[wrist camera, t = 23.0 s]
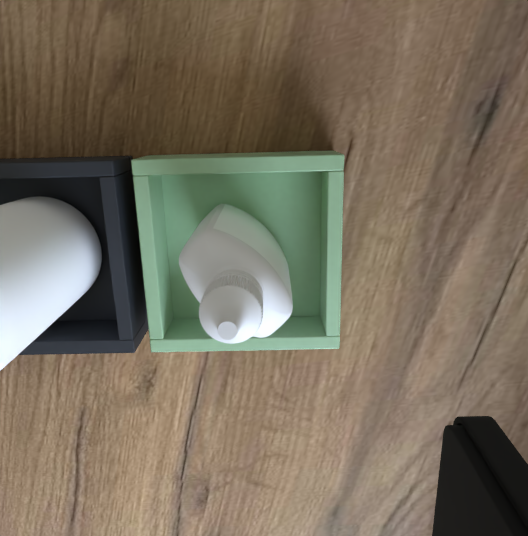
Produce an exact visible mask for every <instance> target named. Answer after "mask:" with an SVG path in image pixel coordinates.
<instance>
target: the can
mask: <svg viewBox="0 0 528 536" xmlns="http://www.w3.org/2000/svg"><path fill="white" fill-rule="evenodd" d="M101 263H102V250H101V245H100V241H99V238H98V236H97V233H96V231H95V229H94V228H93V226H92V225H91V223H90V222H89V221H88V219H87V218H86V217H85V216H84V215H83V214H82V213H81V212H80V211H78V210H77V209H76V208H74V207H73V206H71V205H69V204H68V203H65V202H63V201H61V200H58V199H55V198H50V197H41V196H38V197H28V198H24V199H20V200H16V201H13V202H9V203H6V204H2V205H0V370H1V369H3V368H4V367H5V366H6V365H7V364H8V363H9V362H11V361H12V360H13V359H14V358H15V357H16V356H17V355H18V354H19V353H21V352H22V351H23V350H24V349H25V348H26V347H27V346H28V345H29V344H30V343H32V342H33V341H34V340H35V339H36V338H37V337H38V336H39V335H40V334H41V333H43V332H44V331H45V330H46V329H47V328H48V327H49V326H50V325H51V324H52V323H53V322H55V321H56V320H57V319H58V318H59V317H60V316H61V315H62V314H63V313H64V312H65V311H66V310H68V309H69V308H70V307H71V306H72V305H73V304H74V303H75V302H76V301H77V300H78V299H79V298H80V297H81V296H83V295H84V294H85V293H86V292H87V291H88V290H89V288H90V287H91V286H92V285H93V283H94V282H95V280H96V279H97V277H98V274H99V272H100V268H101Z"/></svg>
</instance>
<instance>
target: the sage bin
mask: <svg viewBox="0 0 528 536" xmlns="http://www.w3.org/2000/svg"><path fill="white" fill-rule="evenodd" d="M131 165H132V174H133V183H134V192H135V202H136V212H137V221H138V231H139V241H140V250H141V260H142V270H143V279H144V289H145V298H146V308H147V318H148V327H149V337H150V347H151V352H185V351H238V350H291V349H339V347H340V336H339V335H340V309H341V267H342V224H343V181H344V172H343V170H344V154H341V153H338V152H336V151H296V152H257V153H217V154H177V155H148V156H144V157H140V158H136V159H132V160H131ZM219 204H229V205H232V206H234V207H237V208H239V209H241V210H243V211H245V212H246V213H248V214H250V215H251V216H253V217H254V218H255V219H257V220H258V221H259V222H260V223H262V224H263V225H264V226H265V227H266V228H267V229H268V230H269V232H270V233H271V234H272V235H273V236H274V238H275V239H276V241H277V242H278V244H279V245H280V247H281V249H282V251H283V253H284V255H285V258H286V260H287V263H288V269H289V276H290V283H291V291H292V301H293V310H292V313H291V315H290V317H289V318H288V319H287V320H286V321H285V323H284V324H282V325H281V326H280V327H279V328H278V329H277V330H276V331H275V332H274V333H272V334H271V335H269V336H267V337H265V338H258V337H253V336H252V337H250V338H249V339H247V340H245V341H244V342H241V343H239V342H238V343H234V344H233V343H232V344H230V343H228V344H227V343H223V342H220V341H217V340H215V339H214V338H212V337H211V336H209V334H207V332H205V330H204V329H203V327H202V324H201V323H200V322H201V321H200V320H199V319H200V318H199V306H200V302H199V301H198V300H197V299H196V297H195V296H194V294H193V293H192V291H191V290H190V288H189V286H188V285H187V283H186V281H185V279H184V277H183V274H182V272H181V269H180V266H179V255H180V253H181V251H182V249H183V248H184V246H185V244H186V243H187V241H188V240H189V238H190V237H191V235H192V234H193V232H194V231H195V229H196V228H197V226H198V225H199V224H200V222H201V221H202V220H203V219H204V218H205V217H206V216H207V215H208V214H209V213H210V212H211V211H212V210H213V209H214V208H215V207H216V206H217V205H219Z"/></svg>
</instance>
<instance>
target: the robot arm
mask: <svg viewBox="0 0 528 536" xmlns="http://www.w3.org/2000/svg"><path fill="white" fill-rule="evenodd" d="M432 536H528V464H527V463H526V462H525V460H524V459H523V458H522V456H521V455H520V454H519V452H518V451H517V450H516V448H515V447H514V445H513V444H512V443H511V441H510V440H509V439H508V437H507V436H506V435H505V433H504V432H503V431H502V429H501V428H500V427H499V425H498V424H497V422H496V421H495V420H494V419H493V418H492V417H489V416H470V417H457V418H456V419H455V420H454V423H453V425H447V426H446V427H445V429H444V433H443V442H442V451H441V461H440V470H439V479H438V488H437V497H436V506H435V515H434V524H433V533H432Z"/></svg>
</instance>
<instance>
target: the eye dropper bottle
mask: <svg viewBox="0 0 528 536" xmlns="http://www.w3.org/2000/svg"><path fill="white" fill-rule="evenodd" d="M179 266H180V269H181V272H182V274H183V277H184V279H185V281H186V283H187V285H188V286H189V288H190V290H191V291H192V293H193V294H194V296H195V297H196V299H197V300H198V301H199V302H200V306H199V318H200V319H199V320H200V321H201V322H200V323H201V324H202V327H203V329H204V330H205V332H207V334H209V336H211V337H212V338H214V339H215V340H217V341H220V342H223V343H227V344H228V343H230V344H232V343H233V344H234V343H238V342H239V343H241V342H244V341H245V340H247V339H249V338H250V337H252V336H253V337H258V338H265V337H267V336H269V335H271V334H272V333H274V332H275V331H276V330H277V329H278V328H279V327H280V326H281V325H282V324H284V323H285V321H286V320H287V319H288V318H289V317H290V315H291V313H292V310H293V301H292V291H291V283H290V276H289V269H288V263H287V260H286V258H285V255H284V253H283V251H282V249H281V247H280V245H279V244H278V242H277V241H276V239H275V238H274V236H273V235H272V234H271V233H270V232H269V230H268V229H267V228H266V227H265V226H264V225H263V224H262V223H260V222H259V221H258V220H257V219H255V218H254V217H253V216H251V215H250V214H248V213H246V212H245V211H243V210H241V209H239V208H237V207H234V206H232V205H229V204H219V205H217V206H216V207H215V208H214V209H213V210H212V211H211V212H210V213H209V214H208V215H207V216H206V217H205V218H204V219H203V220H202V221H201V222H200V224H199V225H198V226H197V228H196V229H195V231H194V232H193V234H192V235H191V237H190V238H189V240H188V241H187V243H186V244H185V246H184V248H183V249H182V251H181V253H180V255H179Z"/></svg>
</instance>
